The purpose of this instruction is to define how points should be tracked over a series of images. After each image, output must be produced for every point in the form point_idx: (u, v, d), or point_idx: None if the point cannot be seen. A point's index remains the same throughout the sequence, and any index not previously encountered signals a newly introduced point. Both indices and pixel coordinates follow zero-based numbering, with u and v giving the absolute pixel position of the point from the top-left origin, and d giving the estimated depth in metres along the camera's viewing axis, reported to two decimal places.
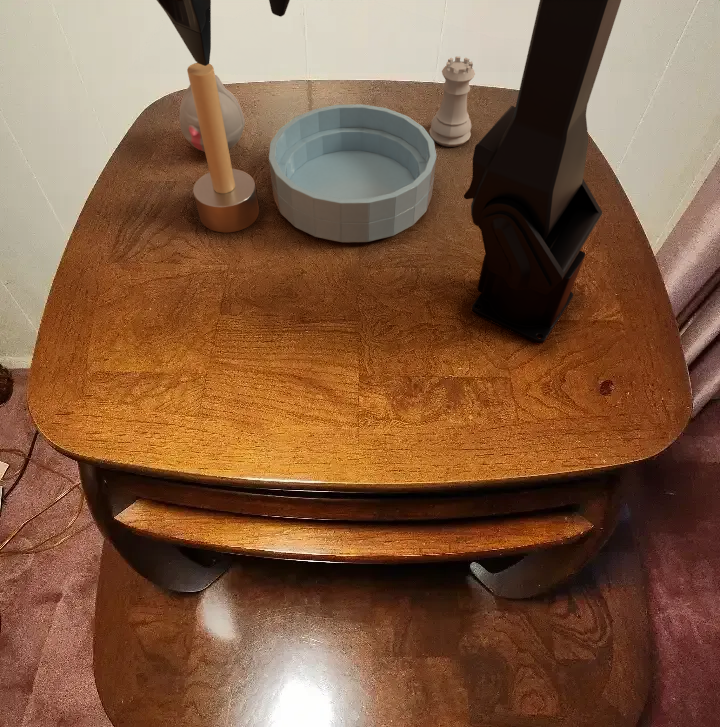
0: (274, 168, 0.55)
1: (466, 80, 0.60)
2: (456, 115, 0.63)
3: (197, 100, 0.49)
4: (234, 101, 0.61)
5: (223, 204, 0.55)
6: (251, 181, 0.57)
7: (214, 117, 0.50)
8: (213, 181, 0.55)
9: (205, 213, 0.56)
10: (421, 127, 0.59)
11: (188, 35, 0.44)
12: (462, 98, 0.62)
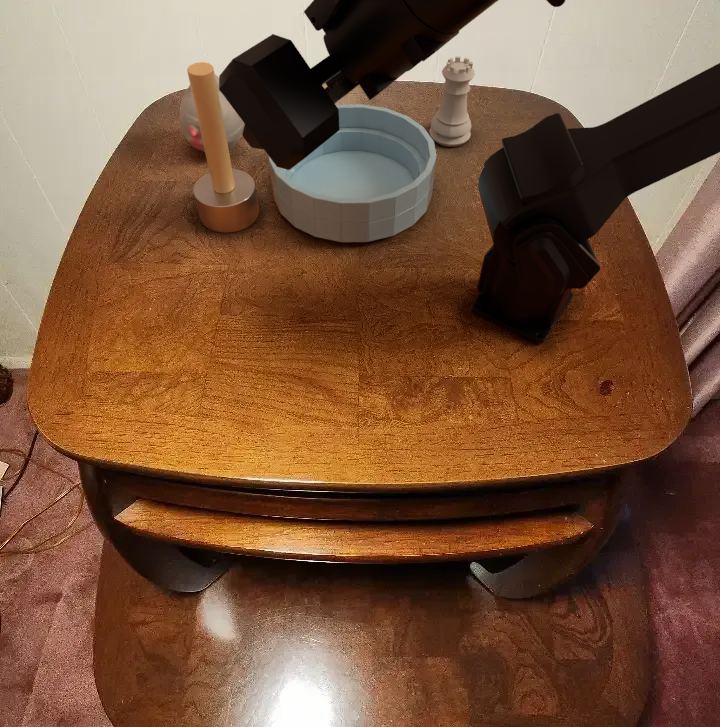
0: (274, 168, 0.55)
1: (466, 80, 0.60)
2: (456, 115, 0.63)
3: (197, 100, 0.49)
4: None
5: (223, 204, 0.55)
6: (251, 181, 0.57)
7: (214, 117, 0.50)
8: (213, 181, 0.55)
9: (205, 213, 0.56)
10: (421, 127, 0.59)
11: None
12: (462, 98, 0.62)
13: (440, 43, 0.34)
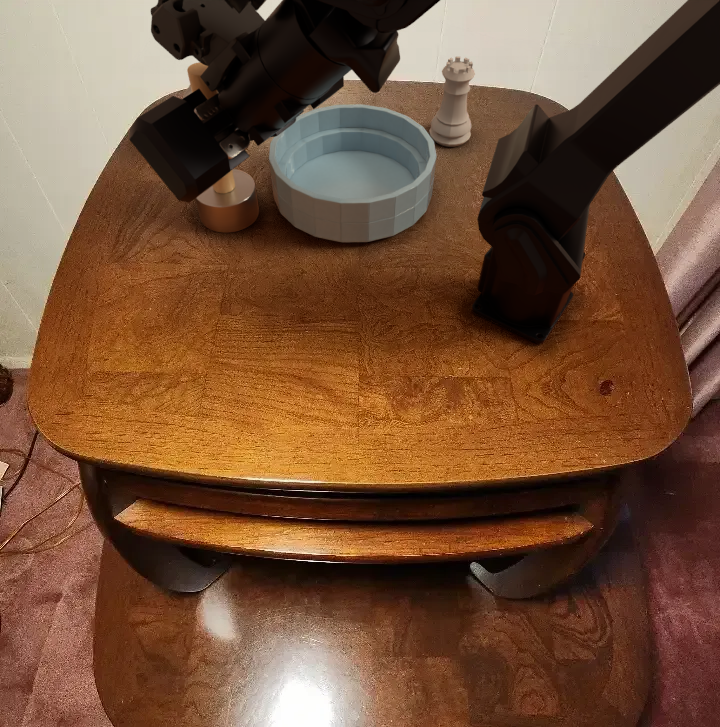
0: (274, 168, 0.55)
1: (466, 80, 0.60)
2: (456, 115, 0.63)
3: None
4: None
5: (223, 204, 0.55)
6: (251, 181, 0.57)
7: None
8: None
9: (205, 213, 0.56)
10: (421, 127, 0.59)
11: None
12: (462, 98, 0.62)
13: (306, 105, 0.43)
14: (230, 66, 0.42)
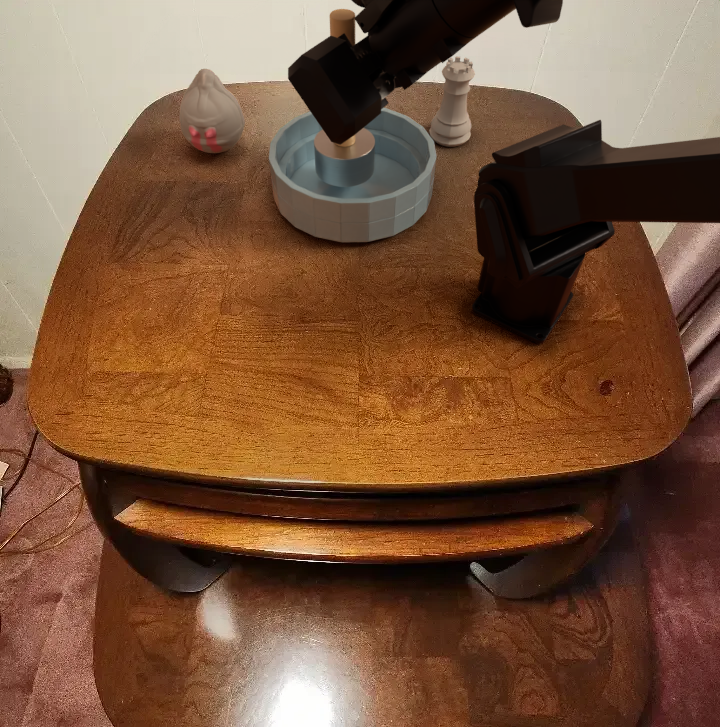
0: (274, 168, 0.55)
1: (466, 80, 0.60)
2: (456, 115, 0.63)
3: None
4: (234, 101, 0.61)
5: (346, 156, 0.55)
6: (370, 135, 0.57)
7: None
8: None
9: (326, 167, 0.56)
10: (421, 127, 0.59)
11: None
12: (462, 98, 0.62)
13: (463, 45, 0.43)
14: (389, 5, 0.43)
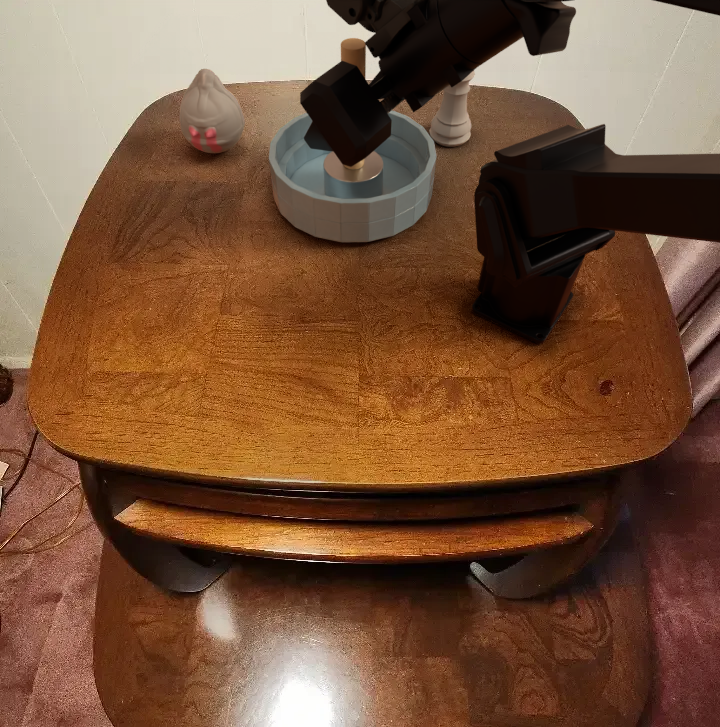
0: (274, 168, 0.55)
1: (466, 80, 0.60)
2: (456, 115, 0.63)
3: None
4: (234, 101, 0.61)
5: (356, 179, 0.56)
6: (378, 158, 0.58)
7: None
8: None
9: (335, 189, 0.57)
10: (421, 127, 0.59)
11: (318, 137, 0.50)
12: (462, 98, 0.62)
13: (472, 70, 0.44)
14: (400, 31, 0.43)
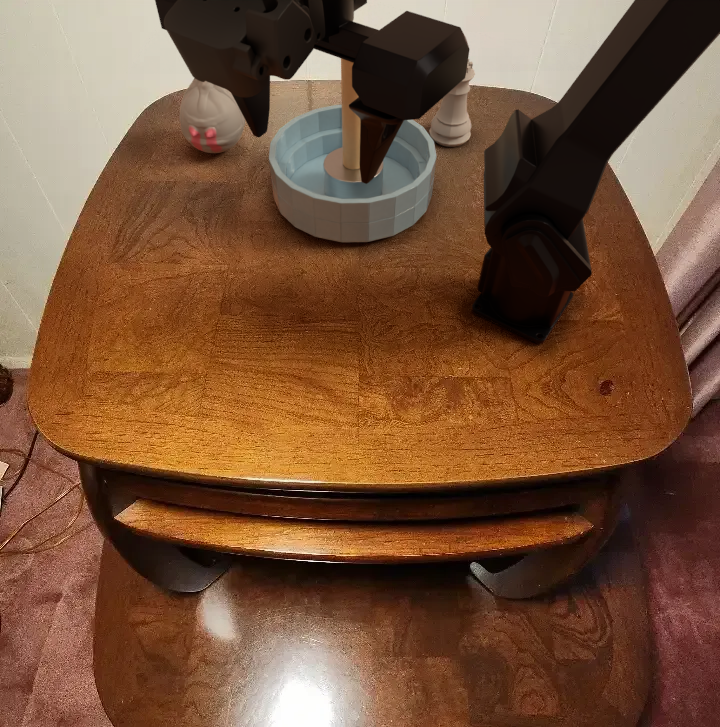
0: (274, 168, 0.55)
1: (466, 80, 0.60)
2: (456, 115, 0.63)
3: (346, 75, 0.50)
4: (234, 101, 0.61)
5: (356, 179, 0.56)
6: None
7: None
8: (346, 157, 0.56)
9: (335, 189, 0.57)
10: (421, 127, 0.59)
11: (382, 149, 0.39)
12: (462, 98, 0.62)
13: None
14: None
